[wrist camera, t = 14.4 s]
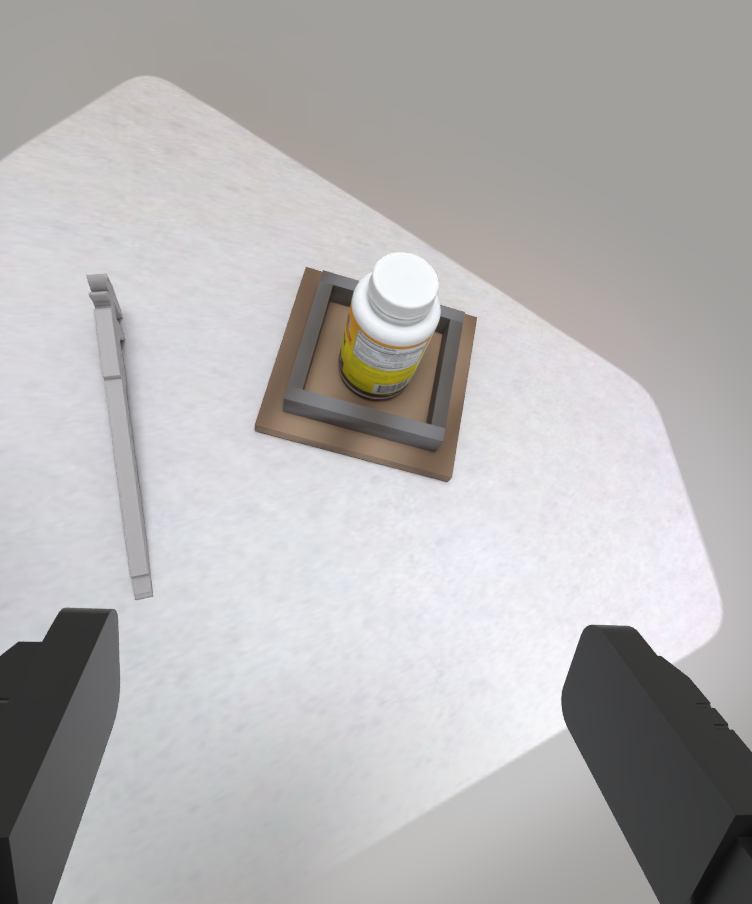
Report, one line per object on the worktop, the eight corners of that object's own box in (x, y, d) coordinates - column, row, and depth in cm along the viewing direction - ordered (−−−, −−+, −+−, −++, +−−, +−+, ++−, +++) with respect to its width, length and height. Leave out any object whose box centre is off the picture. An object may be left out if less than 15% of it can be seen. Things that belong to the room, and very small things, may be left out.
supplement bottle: (363, 323, 44) (391, 224, 34) (424, 364, 43) (469, 274, 34) (321, 374, 41) (339, 282, 32) (385, 417, 41) (422, 336, 32)
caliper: (106, 316, 41) (82, 256, 36) (122, 314, 42) (102, 255, 36) (136, 600, 35) (112, 583, 29) (155, 596, 35) (136, 579, 29)
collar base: (254, 431, 40) (254, 412, 37) (304, 275, 46) (308, 249, 43) (447, 481, 41) (461, 467, 38) (472, 324, 47) (486, 302, 44)
